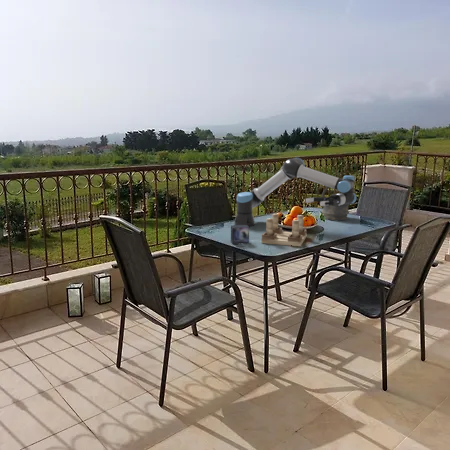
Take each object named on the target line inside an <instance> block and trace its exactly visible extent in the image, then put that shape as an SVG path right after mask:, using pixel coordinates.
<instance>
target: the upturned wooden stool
mask: <svg viewBox="0 0 450 450" xmlns="http://www.w3.org/2000/svg"><path fill="white" fill-rule="evenodd" d="M265 224H266V225H265V226H266V229H265V232H263V233H262V234H261V244H267V245H268V244H269V245H278V246H279V245H281V246H282V245H283V246H291V245H292V247H302V245H303V243H304V242H305V240H306V239H307V236H308V235H307V229H305V228H303V232H301V231H299V220H297V219H293V220H292V225H291V226H292V227H291V231H283V227H279V213H272V214H271V218H269V217H268V218H266V223H265Z"/></svg>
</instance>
